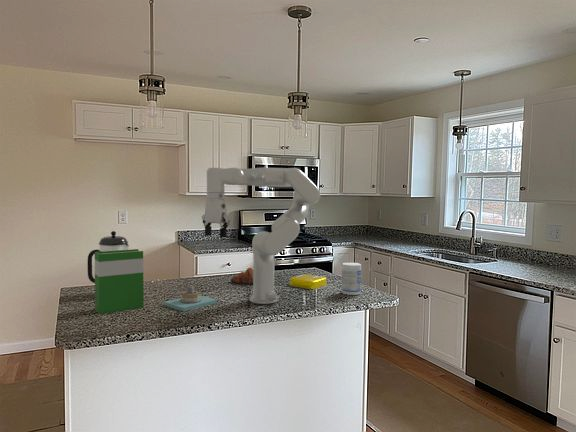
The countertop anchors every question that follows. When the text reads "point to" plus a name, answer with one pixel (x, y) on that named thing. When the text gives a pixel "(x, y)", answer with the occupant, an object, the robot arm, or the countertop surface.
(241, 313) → the countertop surface
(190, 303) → the teal plate with knob
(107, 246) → the coffee press
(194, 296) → the ring
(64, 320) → the countertop surface
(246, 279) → the pastry
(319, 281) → the element tile
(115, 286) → the hardback book
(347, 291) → the supplement tub
